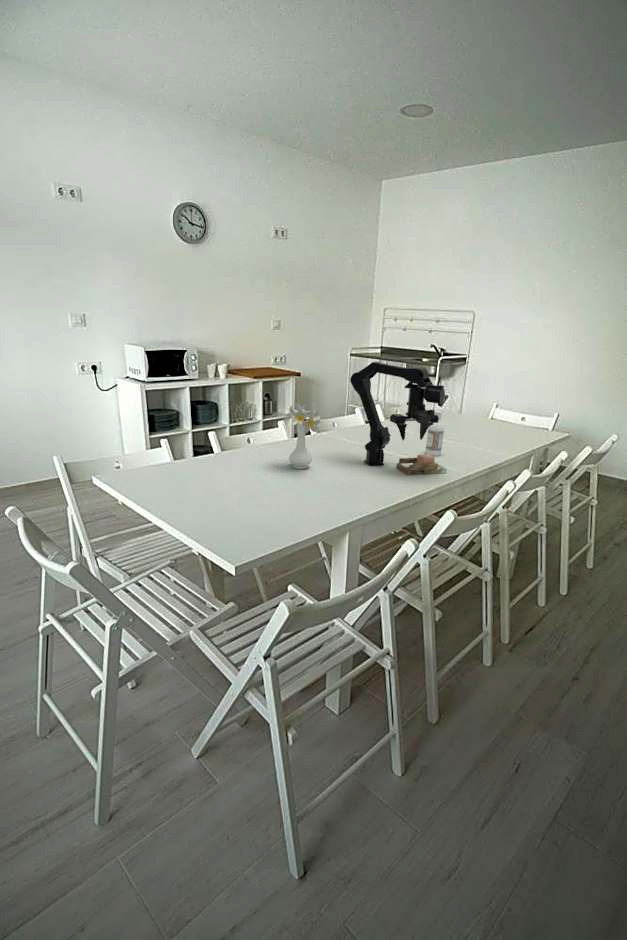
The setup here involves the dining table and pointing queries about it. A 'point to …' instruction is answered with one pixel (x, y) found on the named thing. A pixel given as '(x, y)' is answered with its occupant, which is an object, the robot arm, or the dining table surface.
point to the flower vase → (302, 433)
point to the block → (425, 459)
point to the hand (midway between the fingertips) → (412, 439)
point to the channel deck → (419, 467)
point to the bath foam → (435, 437)
